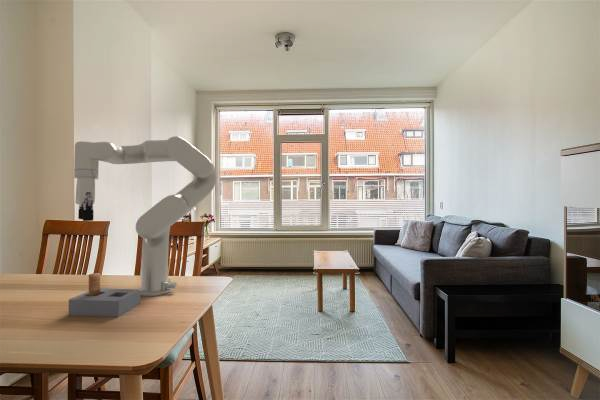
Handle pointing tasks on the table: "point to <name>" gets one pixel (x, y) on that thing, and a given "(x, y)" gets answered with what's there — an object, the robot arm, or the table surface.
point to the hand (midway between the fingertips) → (85, 219)
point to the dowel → (94, 284)
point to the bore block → (104, 303)
